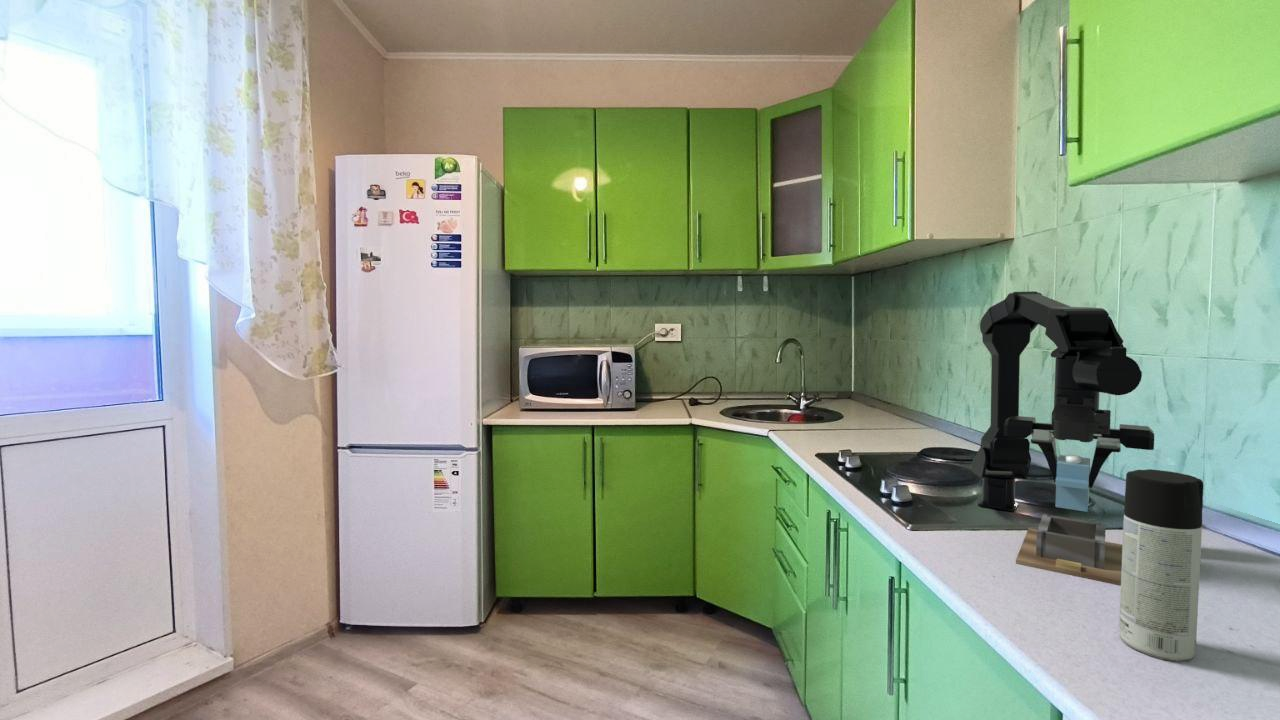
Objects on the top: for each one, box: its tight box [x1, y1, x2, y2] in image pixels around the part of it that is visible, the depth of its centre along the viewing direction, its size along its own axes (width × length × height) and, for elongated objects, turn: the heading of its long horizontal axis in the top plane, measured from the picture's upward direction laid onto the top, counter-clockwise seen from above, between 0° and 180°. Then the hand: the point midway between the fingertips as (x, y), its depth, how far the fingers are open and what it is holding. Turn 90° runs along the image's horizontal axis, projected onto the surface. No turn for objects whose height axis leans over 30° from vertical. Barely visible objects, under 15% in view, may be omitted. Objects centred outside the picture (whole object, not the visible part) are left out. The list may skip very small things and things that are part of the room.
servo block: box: [1054, 454, 1091, 513], centre depth 93 cm, size 12×4×8 cm, turn 141°
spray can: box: [1118, 468, 1204, 662], centre depth 66 cm, size 7×7×20 cm
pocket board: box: [1015, 513, 1123, 586], centre depth 93 cm, size 18×13×4 cm
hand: (1072, 485), depth 93 cm, fingers closed on servo block, 4 cm apart
